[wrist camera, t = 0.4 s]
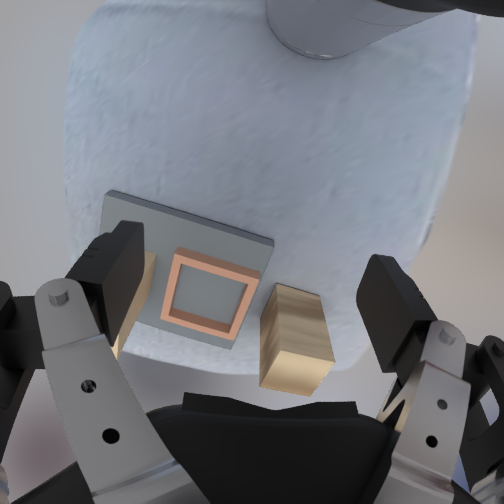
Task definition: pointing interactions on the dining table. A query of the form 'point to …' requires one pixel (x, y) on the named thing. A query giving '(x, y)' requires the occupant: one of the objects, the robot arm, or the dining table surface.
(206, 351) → the dining table surface
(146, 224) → the base board
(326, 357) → the maple pillar
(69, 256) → the dining table surface
